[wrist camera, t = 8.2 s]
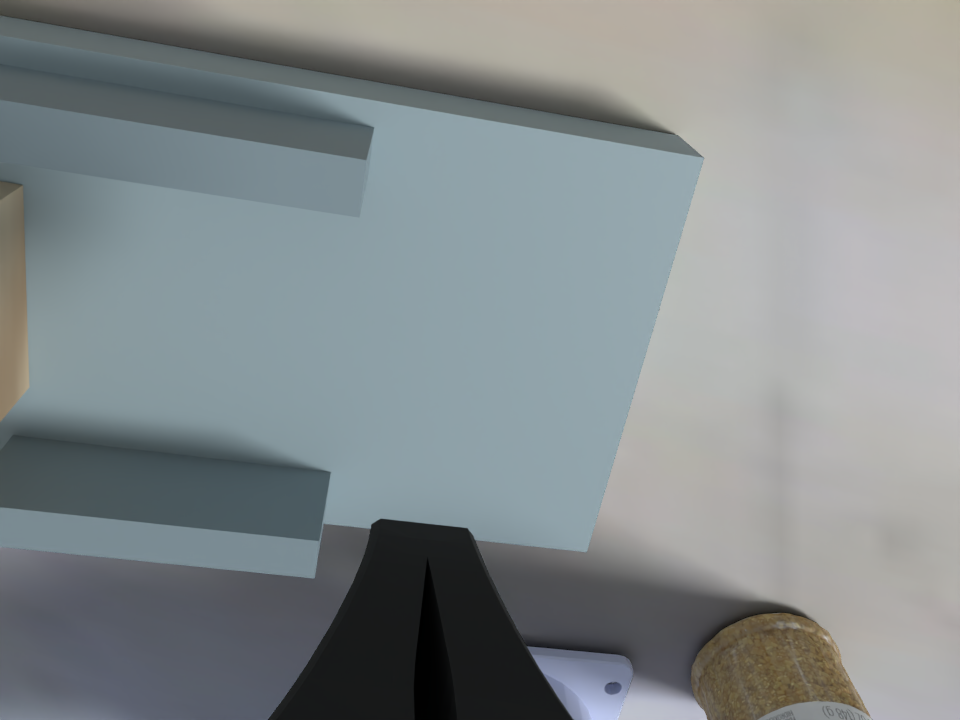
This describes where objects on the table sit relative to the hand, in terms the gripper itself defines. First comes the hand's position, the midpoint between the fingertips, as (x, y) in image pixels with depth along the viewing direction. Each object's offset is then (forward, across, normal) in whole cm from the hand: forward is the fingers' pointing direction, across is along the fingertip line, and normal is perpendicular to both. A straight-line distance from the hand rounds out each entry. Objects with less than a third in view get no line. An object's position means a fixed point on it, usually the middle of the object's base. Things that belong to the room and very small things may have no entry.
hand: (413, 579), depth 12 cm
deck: (+9, +8, 0) cm, 12 cm away
